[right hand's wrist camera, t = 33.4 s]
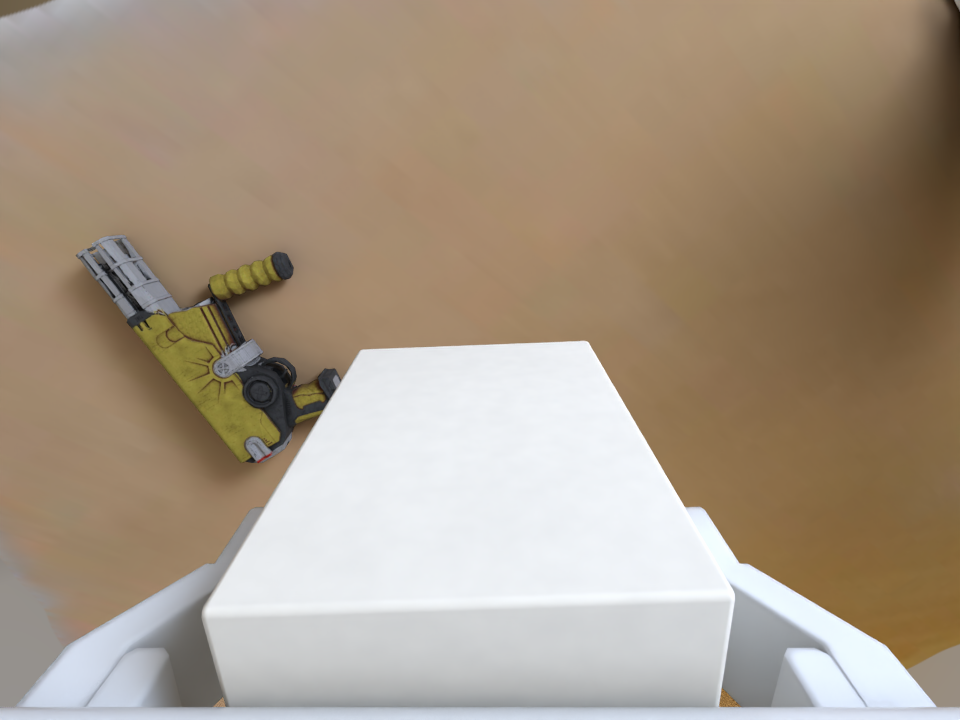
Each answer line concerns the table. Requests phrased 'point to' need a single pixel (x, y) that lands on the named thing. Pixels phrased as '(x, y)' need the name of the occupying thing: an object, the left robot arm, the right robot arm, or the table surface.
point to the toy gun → (214, 350)
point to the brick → (472, 548)
